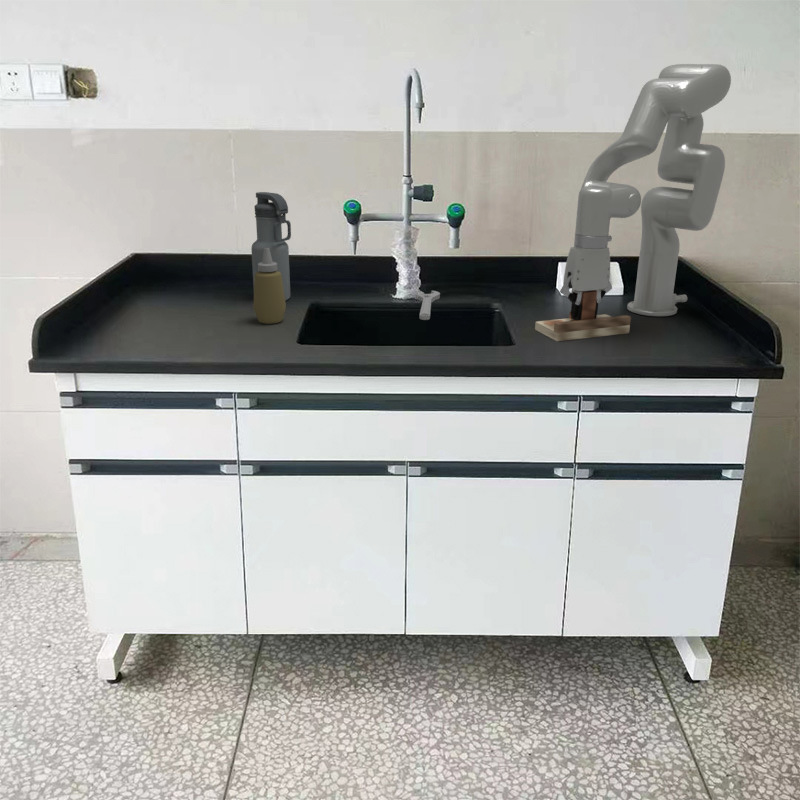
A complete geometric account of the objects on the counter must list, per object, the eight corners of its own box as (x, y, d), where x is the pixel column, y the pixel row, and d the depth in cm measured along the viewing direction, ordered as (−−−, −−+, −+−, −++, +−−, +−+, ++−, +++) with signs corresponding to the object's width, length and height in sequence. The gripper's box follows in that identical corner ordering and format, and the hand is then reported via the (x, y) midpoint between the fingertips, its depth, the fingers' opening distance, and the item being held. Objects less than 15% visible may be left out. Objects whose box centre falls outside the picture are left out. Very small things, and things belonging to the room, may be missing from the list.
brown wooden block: (579, 317, 200) (582, 285, 197) (593, 324, 195) (597, 291, 192) (566, 319, 199) (569, 286, 196) (580, 325, 193) (584, 292, 190)
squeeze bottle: (293, 319, 204) (290, 247, 198) (275, 327, 198) (271, 253, 191) (265, 315, 208) (262, 244, 201) (247, 323, 201) (242, 249, 194)
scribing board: (604, 321, 205) (606, 306, 203) (629, 333, 196) (630, 316, 195) (535, 329, 198) (536, 313, 197) (556, 341, 189) (558, 324, 188)
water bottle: (299, 297, 224) (295, 193, 213) (275, 305, 216) (270, 197, 206) (270, 292, 229) (265, 190, 218) (246, 299, 221) (240, 194, 211)
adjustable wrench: (429, 322, 205) (430, 315, 204) (404, 320, 206) (404, 314, 205) (440, 296, 228) (440, 290, 227) (417, 295, 229) (417, 289, 228)
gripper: (611, 237, 194) (603, 311, 201) (551, 241, 189) (545, 317, 196) (631, 242, 188) (622, 319, 195) (568, 247, 182) (561, 326, 189)
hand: (583, 318), depth 195 cm, fingers closed on brown wooden block, 3 cm apart
